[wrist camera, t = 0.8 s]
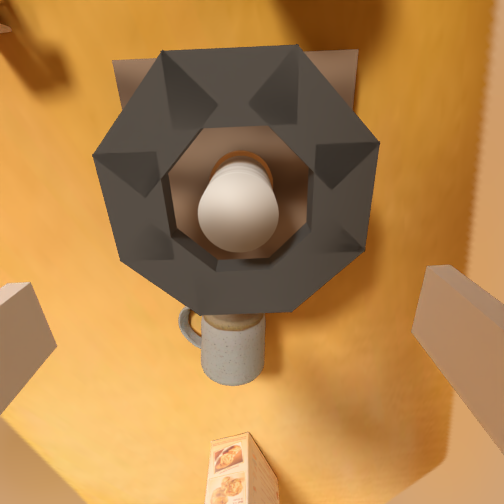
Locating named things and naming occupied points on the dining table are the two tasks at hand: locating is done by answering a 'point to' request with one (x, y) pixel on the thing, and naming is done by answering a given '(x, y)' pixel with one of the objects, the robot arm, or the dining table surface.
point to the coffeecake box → (239, 473)
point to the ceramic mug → (228, 345)
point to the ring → (237, 115)
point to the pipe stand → (242, 173)
